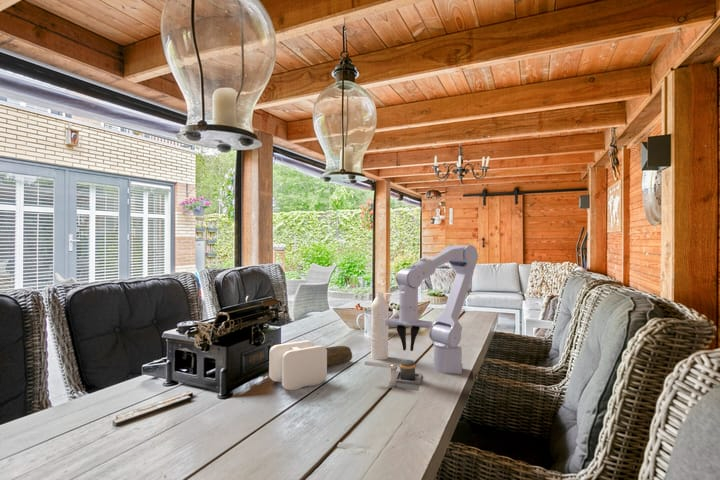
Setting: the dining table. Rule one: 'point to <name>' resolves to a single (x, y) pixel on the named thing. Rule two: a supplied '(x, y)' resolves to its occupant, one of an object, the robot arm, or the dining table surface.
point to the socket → (404, 381)
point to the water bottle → (379, 327)
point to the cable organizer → (298, 364)
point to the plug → (407, 370)
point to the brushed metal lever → (381, 365)
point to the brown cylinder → (338, 355)
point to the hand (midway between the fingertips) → (408, 349)
